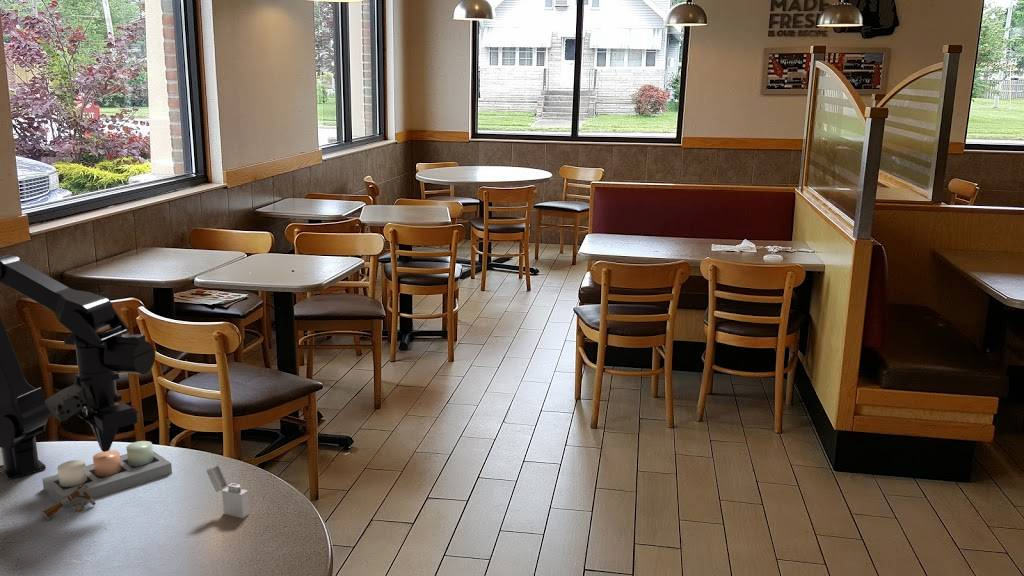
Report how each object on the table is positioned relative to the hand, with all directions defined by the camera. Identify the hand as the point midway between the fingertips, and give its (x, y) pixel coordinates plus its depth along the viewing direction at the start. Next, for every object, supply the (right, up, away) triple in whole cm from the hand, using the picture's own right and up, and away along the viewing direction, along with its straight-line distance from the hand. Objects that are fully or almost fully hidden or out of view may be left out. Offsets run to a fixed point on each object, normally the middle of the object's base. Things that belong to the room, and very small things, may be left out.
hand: (105, 450), depth 158 cm
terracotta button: (0, -4, +1) cm, 4 cm away
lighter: (+26, -9, -10) cm, 29 cm away
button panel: (0, -6, +1) cm, 6 cm away
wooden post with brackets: (-1, -9, -10) cm, 14 cm away
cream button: (-4, -5, -3) cm, 7 cm away
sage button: (+4, -3, +5) cm, 7 cm away
